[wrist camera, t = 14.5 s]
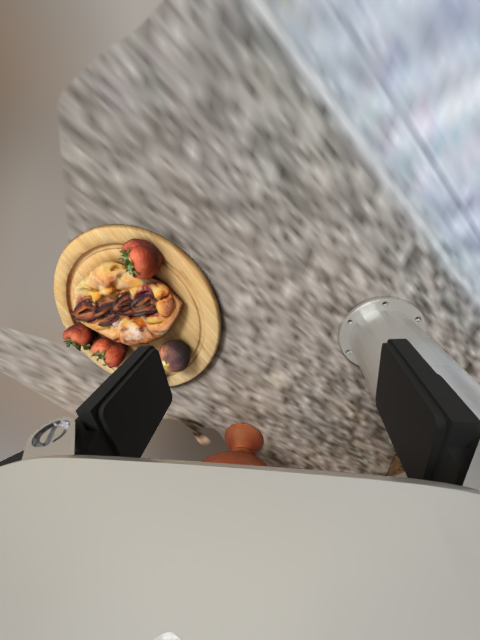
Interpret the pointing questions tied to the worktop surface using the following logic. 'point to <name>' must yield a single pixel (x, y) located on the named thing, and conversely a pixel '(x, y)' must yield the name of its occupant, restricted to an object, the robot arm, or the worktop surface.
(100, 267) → the wooden plate with food
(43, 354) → the worktop surface
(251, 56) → the worktop surface
